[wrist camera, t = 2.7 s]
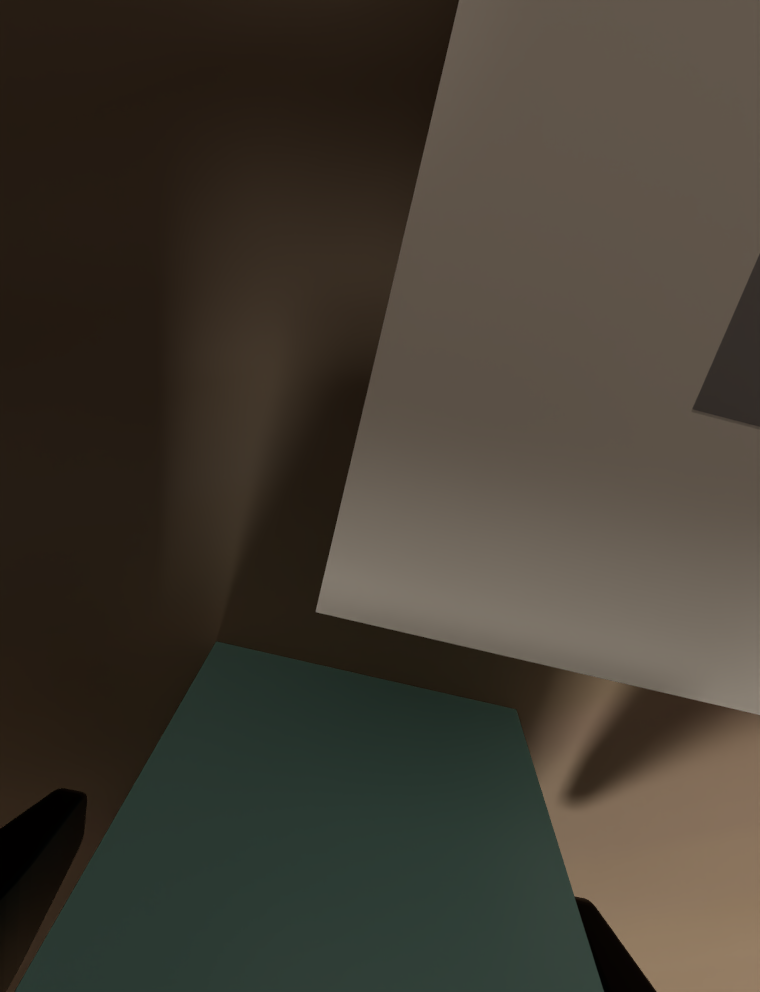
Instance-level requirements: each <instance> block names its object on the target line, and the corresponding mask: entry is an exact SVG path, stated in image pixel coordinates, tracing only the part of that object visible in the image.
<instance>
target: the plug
mask: <svg viewBox="0 0 760 992" xmlns="http://www.w3.org/2000/svg"><path fill="white" fill-rule="evenodd" d="M15 992H604V990H603V987H602V984H601V981H600V977H599V974H598V971H597V968H596V965H595V961H594V958H593V955H592V952H591V948H590V945H589V942H588V939H587V936H586V932H585V929H584V926H583V923H582V920H581V916H580V913H579V910H578V907H577V903H576V900H575V897H574V894H573V891H572V887H571V884H570V881H569V878H568V875H567V871H566V868H565V865H564V862H563V858H562V855H561V852H560V849H559V846H558V842H557V839H556V836H555V833H554V830H553V826H552V823H551V820H550V817H549V813H548V810H547V807H546V804H545V801H544V797H543V794H542V791H541V788H540V785H539V781H538V778H537V775H536V772H535V768H534V765H533V762H532V759H531V756H530V752H529V749H528V746H527V743H526V740H525V736H524V733H523V730H522V727H521V723H520V720H519V717H518V714H517V711H516V709H512V708H508V707H503V706H499V705H494V704H490V703H486V702H481V701H477V700H472V699H468V698H463V697H459V696H455V695H450V694H446V693H441V692H437V691H433V690H428V689H424V688H419V687H415V686H411V685H406V684H402V683H397V682H393V681H389V680H384V679H380V678H375V677H371V676H367V675H362V674H358V673H353V672H349V671H345V670H340V669H336V668H331V667H327V666H323V665H318V664H314V663H309V662H305V661H300V660H296V659H292V658H287V657H283V656H278V655H274V654H270V653H265V652H261V651H256V650H252V649H248V648H243V647H239V646H234V645H230V644H226V643H221V642H217V641H216V643H215V644H214V646H213V648H212V650H211V651H210V653H209V655H208V657H207V658H206V660H205V662H204V664H203V665H202V667H201V669H200V670H199V672H198V674H197V676H196V677H195V679H194V681H193V683H192V684H191V686H190V688H189V690H188V691H187V693H186V695H185V697H184V698H183V700H182V702H181V704H180V705H179V707H178V709H177V710H176V712H175V714H174V716H173V717H172V719H171V721H170V723H169V724H168V726H167V728H166V730H165V731H164V733H163V735H162V737H161V738H160V740H159V742H158V743H157V745H156V747H155V749H154V750H153V752H152V754H151V756H150V757H149V759H148V761H147V763H146V764H145V766H144V768H143V770H142V771H141V773H140V775H139V777H138V778H137V780H136V782H135V783H134V785H133V787H132V789H131V790H130V792H129V794H128V796H127V797H126V799H125V801H124V803H123V804H122V806H121V808H120V810H119V811H118V813H117V815H116V816H115V818H114V820H113V822H112V823H111V825H110V827H109V829H108V830H107V832H106V834H105V836H104V837H103V839H102V841H101V843H100V844H99V846H98V848H97V850H96V851H95V853H94V855H93V856H92V858H91V860H90V862H89V863H88V865H87V867H86V869H85V870H84V872H83V874H82V876H81V877H80V879H79V881H78V883H77V884H76V886H75V888H74V889H73V891H72V893H71V895H70V896H69V898H68V900H67V902H66V903H65V905H64V907H63V909H62V910H61V912H60V914H59V916H58V917H57V919H56V921H55V923H54V924H53V926H52V928H51V929H50V931H49V933H48V935H47V936H46V938H45V940H44V942H43V943H42V945H41V947H40V949H39V950H38V952H37V954H36V956H35V957H34V959H33V961H32V962H31V964H30V966H29V968H28V969H27V971H26V973H25V975H24V976H23V978H22V980H21V982H20V983H19V985H18V987H17V989H16V990H15Z"/></svg>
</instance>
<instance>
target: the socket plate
mask: <svg viewBox="0 0 760 992" xmlns="http://www.w3.org/2000/svg"><path fill="white" fill-rule="evenodd" d="M316 612H317V613H322V614H326V615H330V616H335V617H339V618H343V619H348V620H352V621H356V622H361V623H365V624H369V625H374V626H378V627H382V628H386V629H391V630H395V631H399V632H404V633H408V634H412V635H417V636H421V637H425V638H430V639H434V640H438V641H443V642H447V643H451V644H456V645H460V646H464V647H468V648H473V649H477V650H481V651H486V652H490V653H494V654H499V655H503V656H507V657H512V658H516V659H520V660H525V661H529V662H533V663H538V664H542V665H546V666H550V667H555V668H559V669H563V670H568V671H572V672H576V673H581V674H585V675H589V676H594V677H598V678H602V679H607V680H611V681H615V682H620V683H624V684H628V685H633V686H637V687H641V688H645V689H650V690H654V691H658V692H663V693H667V694H671V695H676V696H680V697H684V698H689V699H693V700H697V701H702V702H706V703H710V704H715V705H719V706H723V707H727V708H732V709H736V710H740V711H745V712H749V713H753V714H758V715H760V0H459V3H458V7H457V11H456V16H455V20H454V24H453V29H452V33H451V37H450V41H449V46H448V50H447V54H446V58H445V63H444V67H443V71H442V75H441V80H440V84H439V88H438V92H437V97H436V101H435V105H434V109H433V114H432V118H431V122H430V126H429V131H428V135H427V139H426V143H425V148H424V152H423V156H422V160H421V165H420V169H419V173H418V178H417V182H416V186H415V190H414V195H413V199H412V203H411V207H410V212H409V216H408V220H407V224H406V229H405V233H404V237H403V241H402V246H401V250H400V254H399V258H398V263H397V267H396V271H395V275H394V280H393V284H392V288H391V292H390V297H389V301H388V305H387V309H386V314H385V318H384V322H383V327H382V331H381V335H380V339H379V344H378V348H377V352H376V356H375V361H374V365H373V369H372V373H371V378H370V382H369V386H368V390H367V395H366V399H365V403H364V407H363V412H362V416H361V420H360V424H359V429H358V433H357V437H356V441H355V446H354V450H353V454H352V458H351V463H350V467H349V471H348V476H347V480H346V484H345V488H344V493H343V497H342V501H341V505H340V510H339V514H338V518H337V522H336V527H335V531H334V535H333V539H332V544H331V548H330V552H329V556H328V561H327V565H326V569H325V573H324V578H323V582H322V586H321V590H320V595H319V599H318V603H317V608H316Z"/></svg>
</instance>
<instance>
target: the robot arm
mask: <svg viewBox="0 0 760 992" xmlns="http://www.w3.org/2000/svg"><path fill="white" fill-rule="evenodd" d="M86 806H87V796H86V794H85V793H83V792H79V791H74V790H70V789H65V788H61V789H57V790H55V791H53V792H52V793H50V794H49V795H47V796H46V797H45V798H43V799H42V800H40V801H39V802H38V803H36V804H35V805H33V806H32V807H30V808H29V809H28V810H26V811H25V812H23V813H22V814H21V815H19V816H18V817H16V818H15V819H14V820H12V821H11V822H9V823H8V824H6V825H5V826H4V827H2V828H1V829H0V992H6V990H7V988H8V986H9V985H10V983H11V981H12V979H13V978H14V976H15V974H16V973H17V971H18V969H19V967H20V965H21V963H22V961H23V959H24V957H25V955H26V953H27V951H28V949H29V947H30V945H31V943H32V941H33V939H34V937H35V935H36V933H37V931H38V929H39V927H40V925H41V923H42V921H43V919H44V917H45V915H46V913H47V911H48V909H49V907H50V905H51V903H52V901H53V899H54V897H55V895H56V893H57V891H58V889H59V887H60V885H61V883H62V881H63V879H64V877H65V875H66V873H67V871H68V869H69V867H70V865H71V863H72V861H73V859H74V857H75V855H76V853H77V851H78V849H79V847H80V844H81V842H82V839H83V835H84V829H85V817H86ZM574 897H575V896H574ZM575 900H576V903H577V907H578V910H579V913H580V916H581V920H582V923H583V926H584V929H585V932H586V936H587V939H588V942H589V945H590V948H591V952H592V955H593V958H594V961H595V965H596V968H597V971H598V974H599V977H600V981H601V984H602V987H603V990H604V992H656V990H655V989H654V988H653V986H652V985H651V983H650V982H649V981H648V979H647V978H646V976H645V975H644V974H643V972H642V971H641V970H640V968H639V967H638V965H637V964H636V963H635V961H634V960H633V958H632V957H631V956H630V954H629V953H628V951H627V950H626V949H625V947H624V946H623V944H622V943H621V942H620V940H619V939H618V937H617V936H616V935H615V933H614V932H613V931H612V929H611V928H610V926H609V925H608V924H607V922H606V921H605V919H604V918H603V917H602V915H601V914H600V912H599V911H598V910H597V908H596V907H595V906H594V905H593V904H592V903H591V902H590V901H589V900H587V899H585V898H580V897H575Z"/></svg>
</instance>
